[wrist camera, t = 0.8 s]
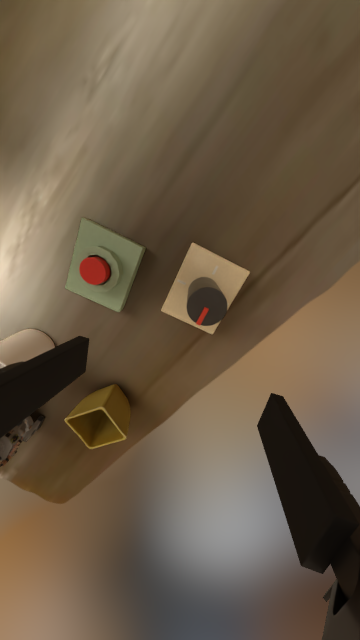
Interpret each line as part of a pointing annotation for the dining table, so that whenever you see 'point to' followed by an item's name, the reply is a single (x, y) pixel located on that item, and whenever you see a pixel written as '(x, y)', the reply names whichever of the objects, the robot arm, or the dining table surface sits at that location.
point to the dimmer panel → (203, 265)
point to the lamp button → (94, 270)
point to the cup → (24, 346)
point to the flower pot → (101, 417)
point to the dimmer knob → (206, 302)
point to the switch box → (118, 256)
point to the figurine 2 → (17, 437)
